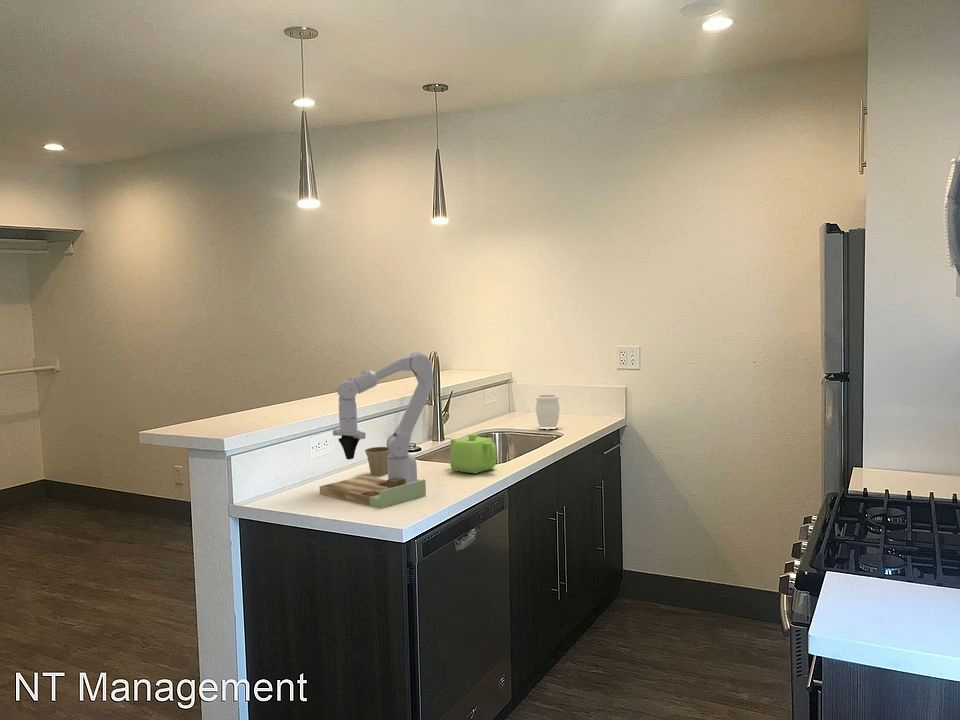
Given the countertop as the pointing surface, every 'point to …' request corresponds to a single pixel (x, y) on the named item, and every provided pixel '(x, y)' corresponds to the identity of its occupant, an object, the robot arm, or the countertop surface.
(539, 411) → the jar
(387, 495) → the box
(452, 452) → the teapot
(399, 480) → the walnut block
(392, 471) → the robot arm
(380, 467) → the flower pot
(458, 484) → the countertop surface
